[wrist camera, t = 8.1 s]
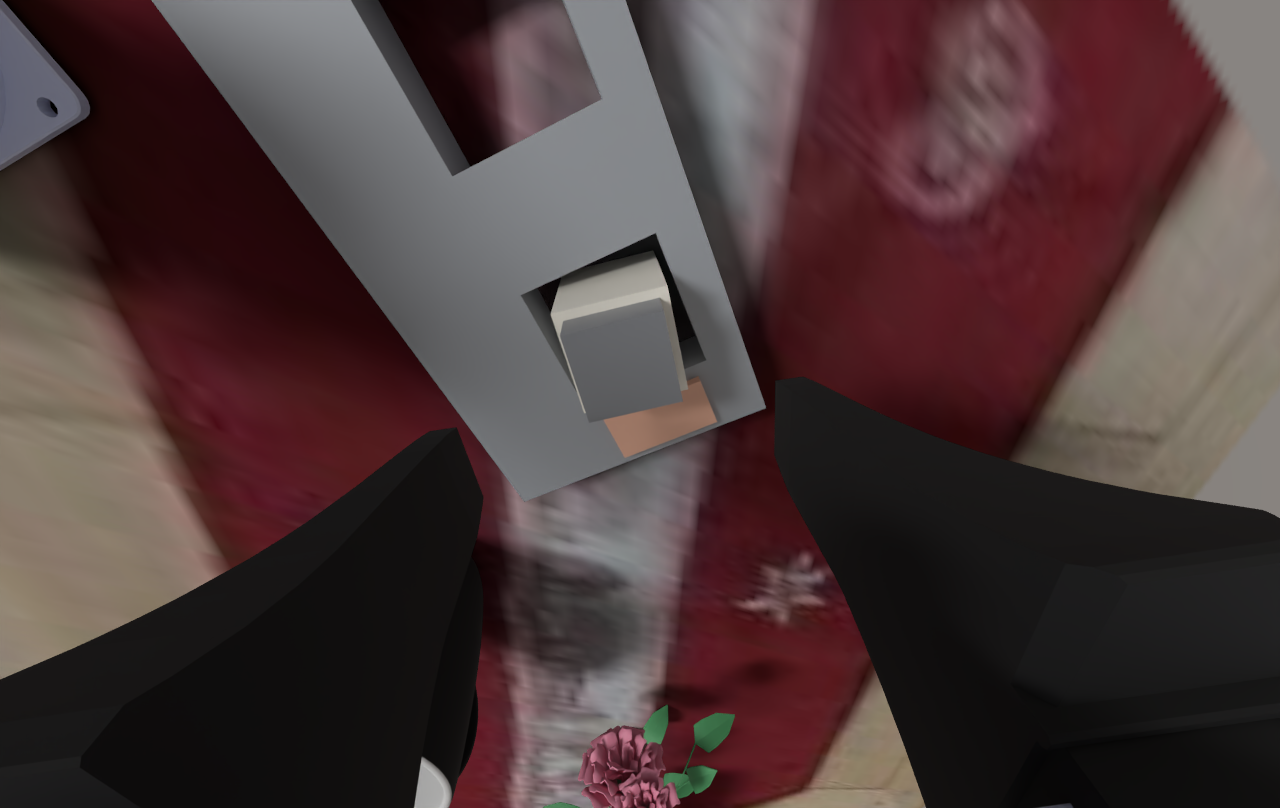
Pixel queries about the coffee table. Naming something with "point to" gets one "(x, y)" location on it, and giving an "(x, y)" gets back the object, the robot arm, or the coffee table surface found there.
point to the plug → (620, 337)
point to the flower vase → (645, 765)
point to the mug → (453, 700)
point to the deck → (482, 218)
